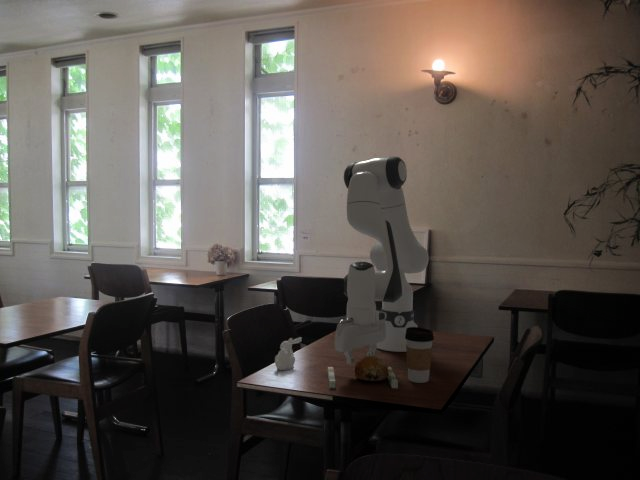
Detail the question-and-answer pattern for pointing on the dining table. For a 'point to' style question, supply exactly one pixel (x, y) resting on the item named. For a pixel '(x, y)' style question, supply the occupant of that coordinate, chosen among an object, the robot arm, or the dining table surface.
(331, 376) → the channel
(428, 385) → the dining table surface
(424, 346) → the coffee cup
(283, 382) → the dining table surface
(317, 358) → the dining table surface
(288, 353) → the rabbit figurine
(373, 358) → the bread roll
